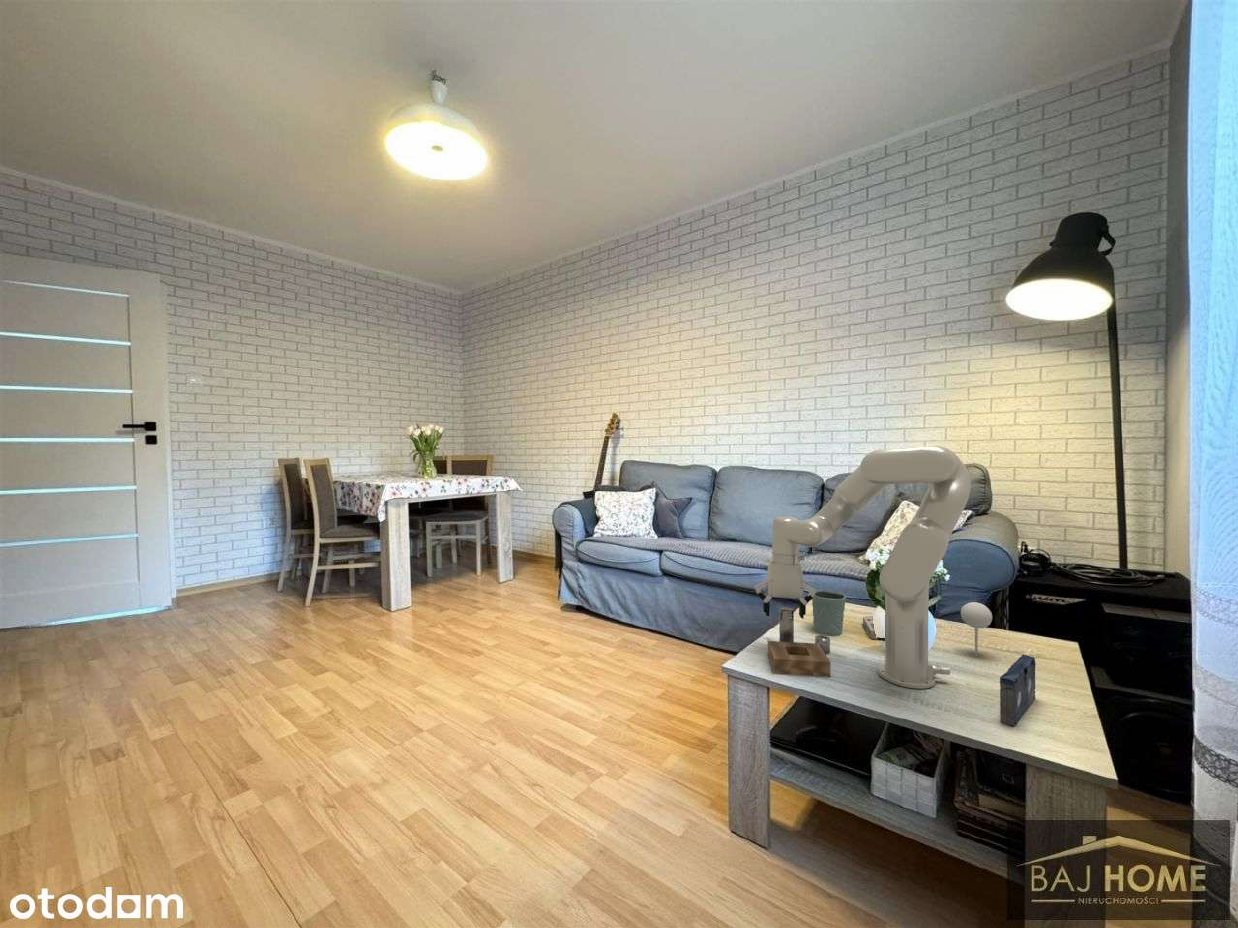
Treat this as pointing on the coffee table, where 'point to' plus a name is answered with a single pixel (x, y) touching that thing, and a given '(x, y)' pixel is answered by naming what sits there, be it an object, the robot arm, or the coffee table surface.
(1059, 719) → the coffee table surface
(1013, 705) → the vhs cassette tape
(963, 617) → the lollipop
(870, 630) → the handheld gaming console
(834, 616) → the grey green cup
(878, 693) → the coffee table surface
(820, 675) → the hole block
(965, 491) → the robot arm
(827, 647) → the short pin
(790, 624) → the tall pin
